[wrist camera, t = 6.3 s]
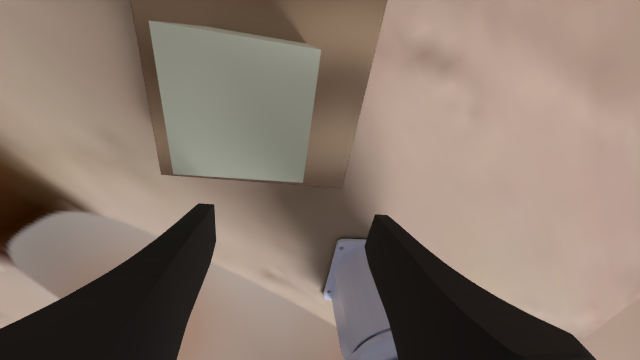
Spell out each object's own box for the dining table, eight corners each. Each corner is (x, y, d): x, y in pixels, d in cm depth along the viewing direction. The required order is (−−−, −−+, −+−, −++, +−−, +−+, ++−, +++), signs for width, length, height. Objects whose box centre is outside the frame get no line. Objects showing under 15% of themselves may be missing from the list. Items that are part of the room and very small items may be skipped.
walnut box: (332, 163, 21) (341, 188, 18) (183, 149, 19) (161, 174, 16) (368, -6, 16) (391, -17, 12) (159, -55, 13) (115, -85, 10)
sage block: (296, 133, 15) (302, 182, 10) (212, 124, 15) (173, 174, 9) (306, 43, 13) (321, 49, 8) (205, 26, 12) (148, 20, 7)
